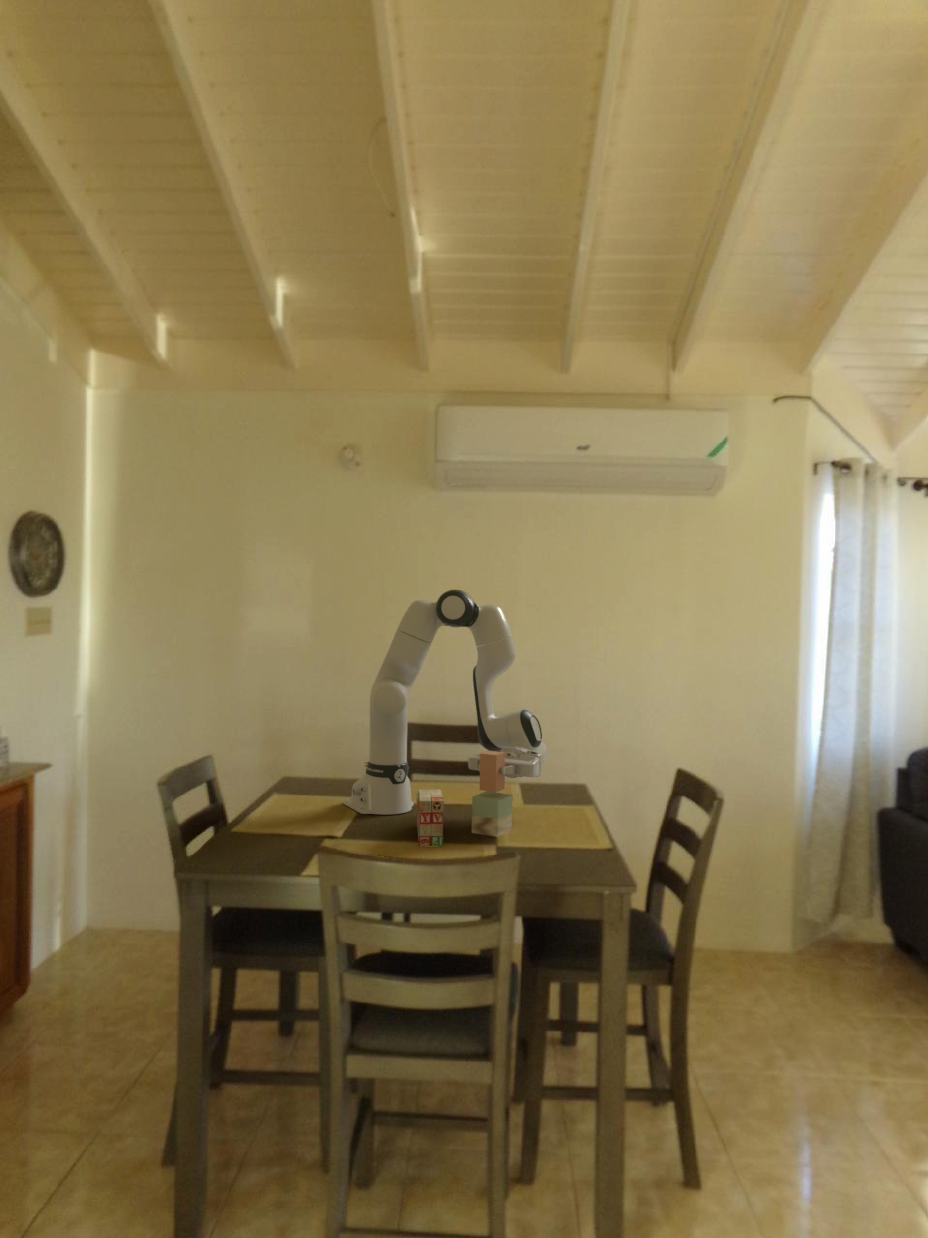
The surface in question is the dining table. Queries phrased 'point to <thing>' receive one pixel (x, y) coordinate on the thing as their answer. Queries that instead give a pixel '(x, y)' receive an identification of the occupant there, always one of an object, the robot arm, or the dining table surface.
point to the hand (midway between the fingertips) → (490, 770)
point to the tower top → (492, 805)
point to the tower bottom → (491, 825)
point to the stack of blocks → (430, 817)
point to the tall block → (492, 771)
